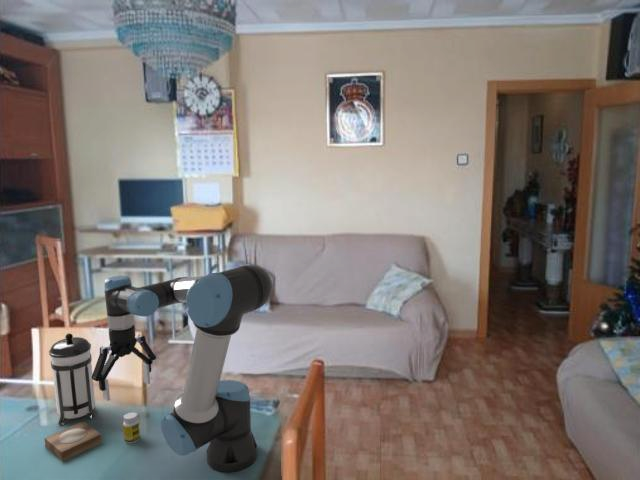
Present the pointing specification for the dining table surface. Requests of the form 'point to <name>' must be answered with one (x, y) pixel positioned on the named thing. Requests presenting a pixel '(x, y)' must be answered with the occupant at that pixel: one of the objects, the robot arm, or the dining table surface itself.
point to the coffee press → (72, 378)
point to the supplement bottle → (131, 428)
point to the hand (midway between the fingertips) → (127, 390)
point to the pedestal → (72, 441)
